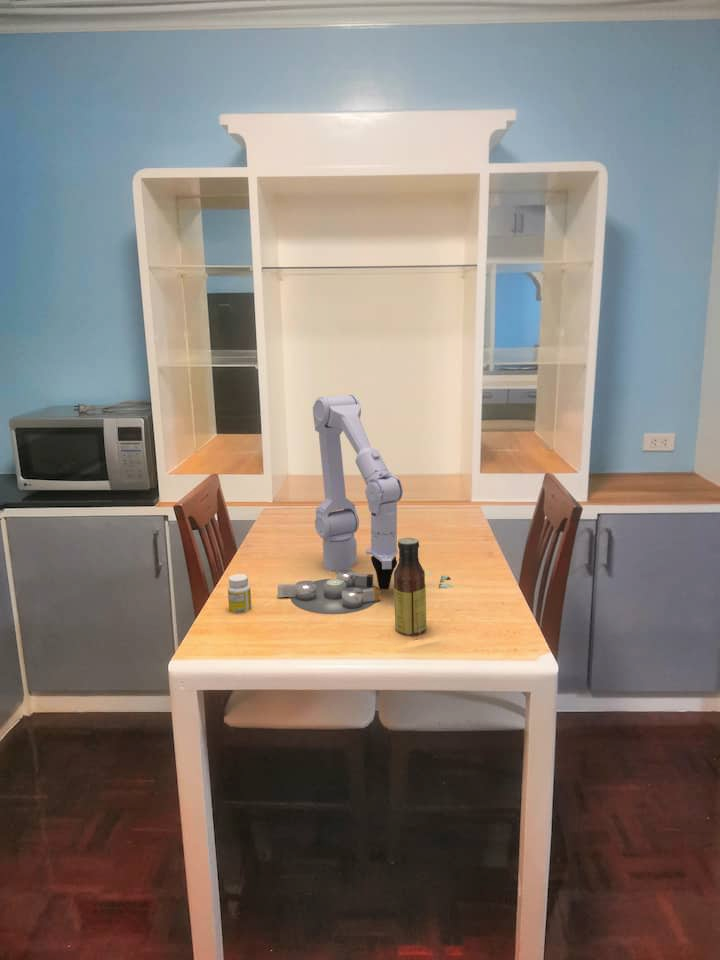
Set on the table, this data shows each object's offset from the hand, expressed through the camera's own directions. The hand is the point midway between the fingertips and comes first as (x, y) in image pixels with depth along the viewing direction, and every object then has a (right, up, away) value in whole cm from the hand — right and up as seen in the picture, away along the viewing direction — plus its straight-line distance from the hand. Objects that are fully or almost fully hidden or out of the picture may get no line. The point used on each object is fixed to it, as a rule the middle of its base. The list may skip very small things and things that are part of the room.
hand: (383, 588), depth 149 cm
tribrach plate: (-11, -3, -1) cm, 11 cm away
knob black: (-7, 0, +4) cm, 8 cm away
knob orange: (-5, -2, -6) cm, 8 cm away
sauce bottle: (+5, -7, -18) cm, 19 cm away
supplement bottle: (-31, -4, -8) cm, 32 cm away
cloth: (+9, 0, +12) cm, 15 cm away
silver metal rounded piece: (-19, -1, -2) cm, 20 cm away
